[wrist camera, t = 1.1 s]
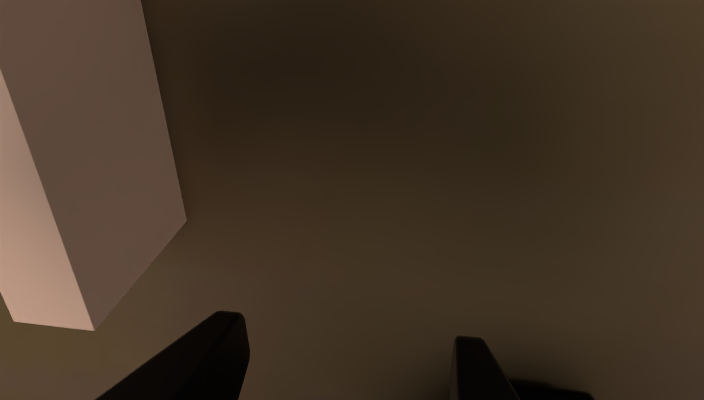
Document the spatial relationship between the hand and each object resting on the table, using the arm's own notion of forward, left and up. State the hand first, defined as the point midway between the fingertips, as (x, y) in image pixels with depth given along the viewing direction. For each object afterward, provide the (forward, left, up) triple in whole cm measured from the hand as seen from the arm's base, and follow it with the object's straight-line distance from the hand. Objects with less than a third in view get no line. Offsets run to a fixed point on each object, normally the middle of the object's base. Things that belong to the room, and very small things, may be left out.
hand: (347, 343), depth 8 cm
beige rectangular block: (0, +11, -12) cm, 16 cm away
